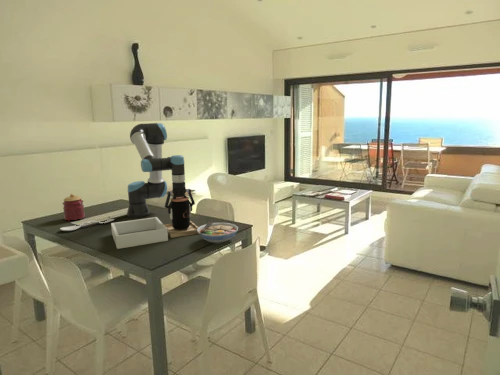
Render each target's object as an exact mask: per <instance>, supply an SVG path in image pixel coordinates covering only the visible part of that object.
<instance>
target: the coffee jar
mask: <svg viewBox="0 0 500 375" xmlns="http://www.w3.org/2000/svg"><path fill="white" fill-rule="evenodd" d="M186 197H187V198H184V197H178V198H176V199H172V198H173V197H170V202H171V201H172V202H173V203H172V206H171V208H172V217H173V219H172V220H171V224H172V226H173V228H174V229H186V228H188V227H189V226H190V221H191V217H190V213H189V206H190V205H189V201H190V197H189V196H186ZM188 200H189V201H188Z"/></svg>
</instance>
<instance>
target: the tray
mask: <svg viewBox="0 0 500 375" xmlns="http://www.w3.org/2000/svg"><path fill="white" fill-rule="evenodd" d="M164 226H165V227H166V228H167V233H168V237H169V238H170V239H174V238H178V237H179V238H180V237H186V236H193V235H199V233H198V232H197V229H198V227H199V226H198V225H196V223H194V222H193V221H192V220H190V226H189V227H188V228H186V229H174V228H173V226H172V223H168V224H167V223H166V224H164Z"/></svg>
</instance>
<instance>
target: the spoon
mask: <svg viewBox="0 0 500 375" xmlns="http://www.w3.org/2000/svg"><path fill="white" fill-rule="evenodd" d="M106 218H109V220H107V221H105V222H100V221H98V220H90V221H84V222H83V223H79V224H80V226H76V225H77V224H76V225H70V226H63V227H60V228H59V230H60V231H63V232H73V231H75V230H78V229H80V228H81V227H82V226H84V225H87V224H91V223H92V222H93V223H96V222H97V221H98V222H99V223H98V224H103V223H104V224H107V223H110V222H111V223H112V221H114V220H115V219H114V218H110V216H106ZM93 223H92V224H93ZM83 224H84V225H83ZM81 225H82V226H81Z"/></svg>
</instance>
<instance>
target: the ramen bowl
mask: <svg viewBox="0 0 500 375" xmlns="http://www.w3.org/2000/svg"><path fill="white" fill-rule="evenodd" d="M197 227H198V229H197V232H198V233H199V234H198V235H199V236H200V237H201V238H202V239H203V240H205V241H207V242H209V243H213V244H222V243H225V242H227V241H230V239H232V238H234V237H235V235H236V234H237V232H238V231H239V226H237V225H236V224H234V223H229V222H215V220H213V219H212V220H211V219H210V220H209V221H208V222H207V223H205V224H203V225H200V226H197Z"/></svg>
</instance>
